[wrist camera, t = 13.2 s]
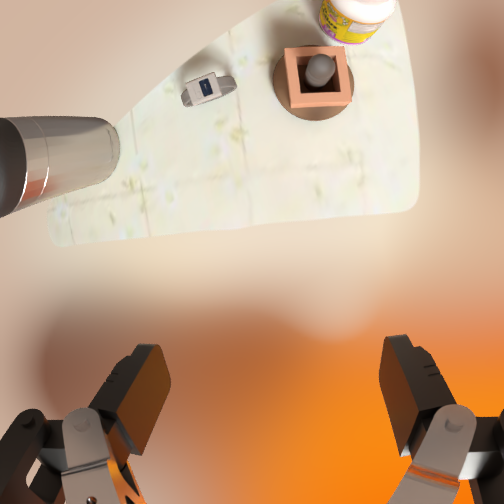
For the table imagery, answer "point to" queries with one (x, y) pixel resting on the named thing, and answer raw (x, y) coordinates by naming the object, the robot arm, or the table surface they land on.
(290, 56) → the pink hollow square block
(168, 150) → the table surface
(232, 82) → the wristwatch
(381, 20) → the supplement bottle
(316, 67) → the post stand
